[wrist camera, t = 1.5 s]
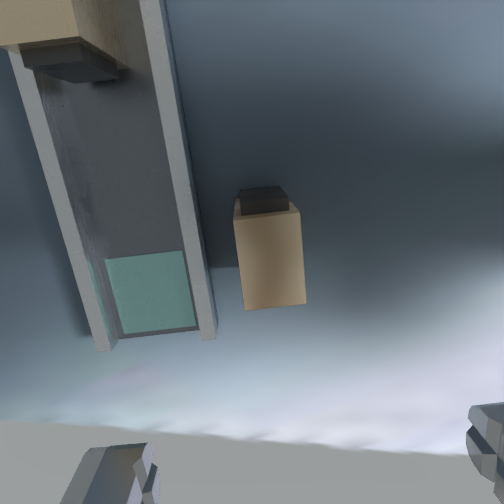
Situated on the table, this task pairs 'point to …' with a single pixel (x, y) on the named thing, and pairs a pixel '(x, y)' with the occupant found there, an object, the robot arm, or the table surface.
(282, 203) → the wooden block
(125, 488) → the robot arm
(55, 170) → the rail
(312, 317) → the table surface
